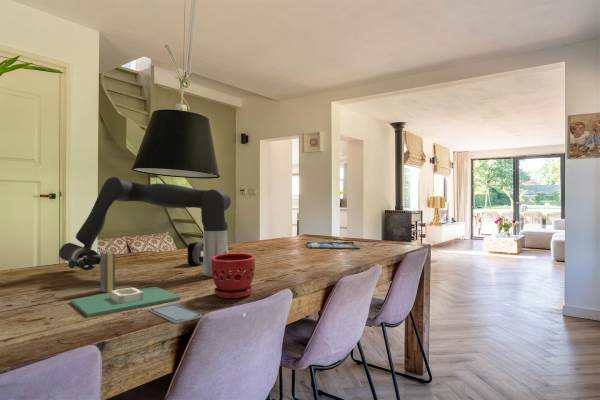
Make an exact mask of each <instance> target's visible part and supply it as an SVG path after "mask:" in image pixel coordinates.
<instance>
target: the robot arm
mask: <svg viewBox="0 0 600 400" xmlns="http://www.w3.org/2000/svg"><path fill="white" fill-rule="evenodd" d="M98 193H99V194H98V195H97V197H96V200H95V202H94V204H93V207H92V209H91V210H90V213H89V214H88V216H87V218H86V219H85V221H84V223H83V224H82V226H80V229H79V230H78V231H77V232H76V234H75V239H76V240H77V241H79V243H81V244H82V245H84V246H81V245H78V244H75V243H72V242H67V243H64V244H63V245H62V246H60V249H59V251H58V256H59V258H60V259H61V260H64V261H66V262H67V267H68V268H69V269H74V268H77V269H81V270H84V271H90V270H92V269H95V267H97V266H98V267H99V266H100V262H101V255H99V254H98V251H96V250H93V249H92V247H93V245H94V243H95V241H96V240H97V238H98V237H99V236H100V234H101V232H102V230H103V228H104V226H105V222H106V216H107V213H108V210H109V209H110V207H111V206H112V205H113V204H114V202H115V201H118V202H142V203H147V204H150V205H153V206H159V207H166V208H173V209H174V208H175V209H176V208H177V209H178V208H179V209H180V208H181V209H183V208H184V209H185V208H187V209H189V208H198V209H201V211H200V213H201V214H200V215H201V216H200V217H201V224H202V227H203V228H202V229H203V233H202V234H203V237H202V238H203V240H202V242H203V267H202V272H203V276H205V277H213V275H212V268H211V259H212V257H214V256H216V255H221V254H229V249H228V247H229V246H228V243H229V242H228V239H229V238H228V237H229V236H228V229H229V228H228V225H229V224H228V223H227V221H226V217H225V212H226V211H227V210H228V209H229V207H230V206H231V203H232V199H231V197H230V195H229V194H228V193H227V192H226V191H224V190H221V189H215V188H213V189H212V188H211V189H207V190H206V189H196V188H192V187H188V186H182V185H177V184H172V183H171V184H170V183H161V182H160V183H159V182H158V183H149V184H143V183H139V182H133V181H131V180H127V179H125V178H121V177H117V176H111V177H109V178H108V179H106V180H105V182H104V183H103V184H102V187H101V189H100V190H99V192H98Z"/></svg>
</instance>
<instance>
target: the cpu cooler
mask: <svg viewBox="0 0 600 400" xmlns="http://www.w3.org/2000/svg"><path fill="white" fill-rule="evenodd" d="M186 252H187V264H188V265H189V266H190V265H195V266H202V265H203V241H195V242H191V243H188V246H187V251H186Z"/></svg>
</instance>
